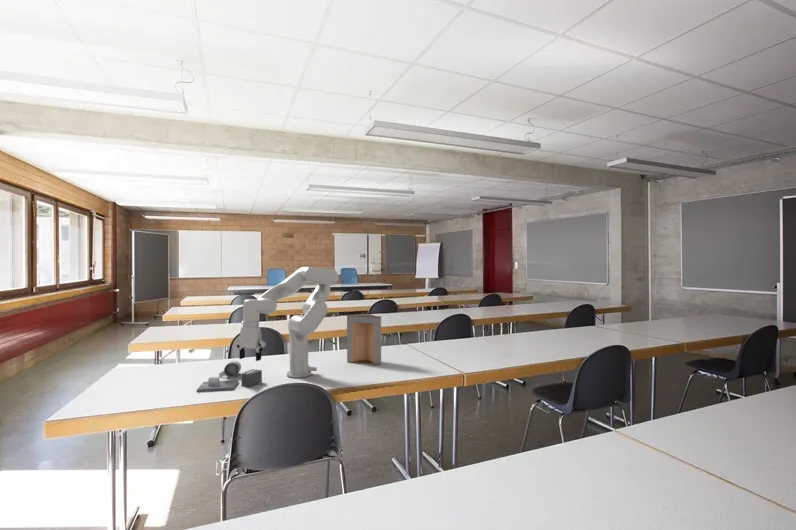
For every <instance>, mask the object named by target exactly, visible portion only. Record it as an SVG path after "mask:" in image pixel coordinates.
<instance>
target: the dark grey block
mask: <svg viewBox="0 0 796 530" xmlns="http://www.w3.org/2000/svg"><path fill="white" fill-rule="evenodd" d="M262 374H263V371H262V370H261V369H253V368H252V369H249V370H246V371H244V372H241V379H240V380H241V386H242V387H248V388H252V387H255V386H256V385H260V384H261V383H263V382H262V381H263V380H262V379H263V377H262V376H263V375H262Z"/></svg>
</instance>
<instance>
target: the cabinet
mask: <svg viewBox="0 0 796 530" xmlns="http://www.w3.org/2000/svg"><path fill="white" fill-rule="evenodd" d="M346 363H353V364H364V365H375V366H376V365H377V366H381V365H382V315H380V316H379V315H375V314H371V313H362V314H347V315H346Z"/></svg>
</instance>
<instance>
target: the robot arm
mask: <svg viewBox="0 0 796 530" xmlns="http://www.w3.org/2000/svg"><path fill="white" fill-rule="evenodd" d="M338 281H339V273H338V272H337V271H336V270H335V269H332V268H324V267H316V266H305V265H304V266H301V267H300V268H298V269H297V270H295V271H294V272H293V273H292V274H291V275H289V276H288V277H287V278H285V279H284V280H283V281H281V282H280V283H278V284H276V285H275V286H273V287H272V288H269V289H268V290H266V291H265V292H264V293H263V294H262V295H260V296H259V297H257V299H256V298H248V299H244V300H243V304H242V321H241V324H242V326H241V328H240V333H239V339H237V340H235V344H236V347H237V350H238V351H239V354H238V355H239V360H242V359H245V357H246V350H245V349H250V350H255V351H256V353H255V361H256V362H259V361H261V360H262V352H263V351H264V350H265V348H266V345H267V343H266V342H265V341H263V340H262V331H261V327H260V314H264V315H265V314H266V315H268V314H273V313H275V312H276V310H277V309H278V304H277V302H278V301H280V300H282V299H284V298H288V297H291V296H293V295H294V294H296V293H297V292H298V291H299V290H301V288H303V287H304V286H305V285H307V284H308V283H310V284H315V288H314V291H313V292H312V293H311V294H310V295H309V297H308V298H307V300H306V301H305V302H304V303H303V305H302V308H301V309H302V310H301V311H302V312H303V314H304V315H301V314H295V315H293V316H291V317H290V318H289V319H288V324H287V328H288V329H287V330H288V334H289V335H288V336H289V371H288V372H287V373H286V376H287V377H289V378H292V379H293V378H294V379H300V378H307V377H310V376H311V375H312V372H316V371H318V367H316V366H310V364H309V337H308V336H310V335H312V334H313V333H314V332H315V331H316V330H317V329H318V327H319V325H320V324H321V323H322V322H323V320H324V319H325V317H326V315H327V314H328V306H327V305H328V304H327V303H326V301H327V300H328V298H329V297H330V294H331V286H333V285H335V284H336V283H337V282H338Z"/></svg>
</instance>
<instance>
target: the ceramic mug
mask: <svg viewBox="0 0 796 530" xmlns="http://www.w3.org/2000/svg"><path fill="white" fill-rule="evenodd" d="M223 368H224V369H223V371H221V372H220V373H219V374H218V375H219V376H218V377H219V378H220V377H223V376H226V377H227V378H235V377H237V376H238V374H240V372H241V369H242V365H241V363H240V362H239V361H238V360H231V361H229V362H228V363H226V365H225V366H224V367H223Z"/></svg>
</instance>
